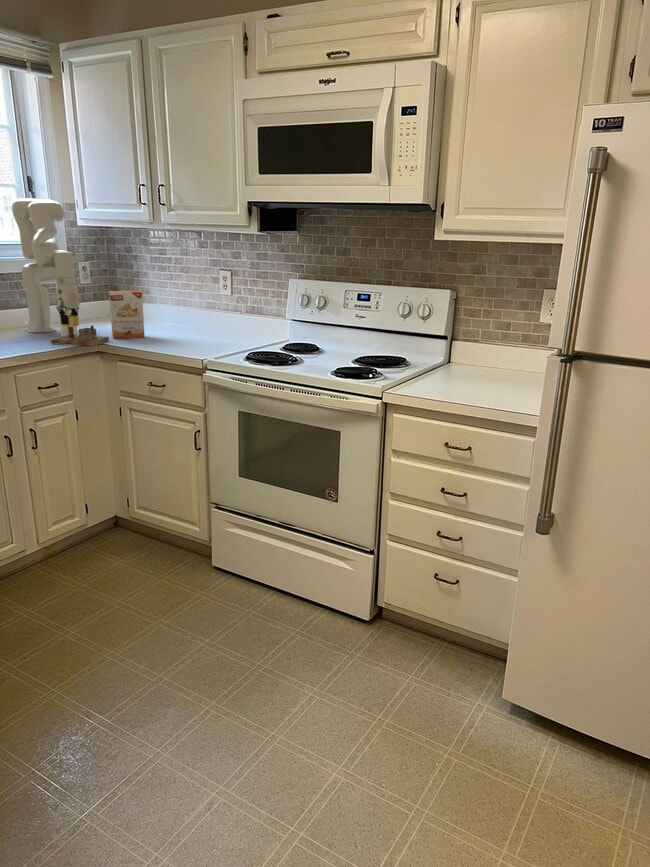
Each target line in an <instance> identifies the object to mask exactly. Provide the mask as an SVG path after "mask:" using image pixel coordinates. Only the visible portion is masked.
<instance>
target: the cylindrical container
mask: <svg viewBox="0 0 650 867" xmlns="http://www.w3.org/2000/svg"><path fill="white" fill-rule="evenodd" d="M54 284H55V292H56V293H57V283H56V281H55V283H54ZM63 311H64V310H63ZM71 313H72V312H71V310H70V309H67V315H71ZM58 319H59V327H60V337H61V336H65V335H69V332H68V327H73V332H74V335H79V332H78V326H67V327H66V326H62V325H61V318H60V315H59V314H58Z"/></svg>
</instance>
